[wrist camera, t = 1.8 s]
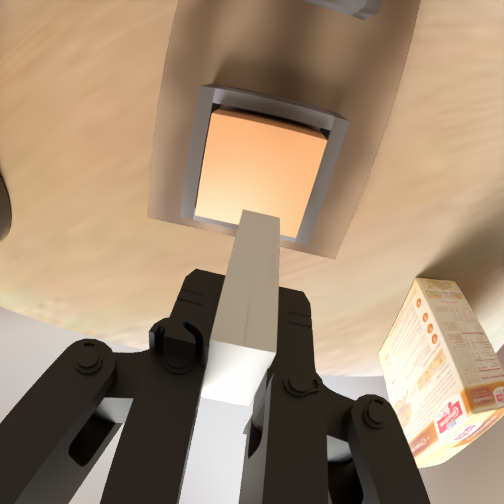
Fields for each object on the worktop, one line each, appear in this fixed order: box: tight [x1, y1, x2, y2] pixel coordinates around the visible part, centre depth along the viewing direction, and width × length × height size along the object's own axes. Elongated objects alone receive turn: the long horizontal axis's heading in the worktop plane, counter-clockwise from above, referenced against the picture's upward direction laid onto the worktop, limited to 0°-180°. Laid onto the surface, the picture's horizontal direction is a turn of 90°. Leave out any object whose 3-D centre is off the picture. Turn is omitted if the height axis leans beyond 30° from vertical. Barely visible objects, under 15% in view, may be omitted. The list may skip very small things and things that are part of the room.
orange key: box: [195, 107, 327, 238], centre depth 20 cm, size 7×7×3 cm
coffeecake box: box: [378, 278, 504, 468], centre depth 30 cm, size 15×7×20 cm, turn 176°
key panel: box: [147, 0, 420, 259], centre depth 19 cm, size 18×34×8 cm, turn 168°
